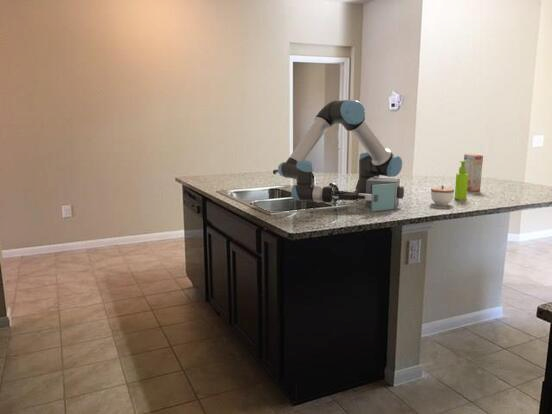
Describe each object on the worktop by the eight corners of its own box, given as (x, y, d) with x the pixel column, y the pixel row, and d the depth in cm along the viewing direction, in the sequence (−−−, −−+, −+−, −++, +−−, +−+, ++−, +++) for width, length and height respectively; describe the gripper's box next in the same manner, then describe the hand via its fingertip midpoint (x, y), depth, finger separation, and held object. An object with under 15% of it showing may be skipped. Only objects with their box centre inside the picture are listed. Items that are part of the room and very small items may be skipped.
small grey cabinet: (370, 202, 238) (371, 175, 236) (404, 205, 232) (405, 177, 229) (365, 207, 227) (366, 178, 225) (400, 209, 221) (402, 180, 218)
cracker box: (480, 191, 273) (483, 155, 269) (470, 191, 274) (473, 155, 270) (471, 187, 287) (473, 153, 283) (461, 187, 287) (463, 153, 283)
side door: (371, 211, 216) (372, 185, 213) (394, 208, 222) (395, 183, 220) (373, 211, 214) (374, 185, 212) (397, 208, 221) (398, 183, 218)
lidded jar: (429, 205, 231) (430, 186, 229) (430, 201, 241) (432, 183, 239) (452, 207, 227) (454, 187, 225) (453, 203, 237) (454, 184, 235)
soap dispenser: (469, 199, 246) (472, 161, 242) (455, 199, 248) (458, 161, 244) (467, 197, 252) (470, 160, 248) (453, 197, 253) (456, 160, 249)
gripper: (327, 199, 232) (375, 203, 223) (319, 204, 220) (369, 207, 211) (327, 184, 230) (375, 187, 221) (319, 188, 218) (370, 191, 209)
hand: (372, 197), depth 216 cm, fingers closed
